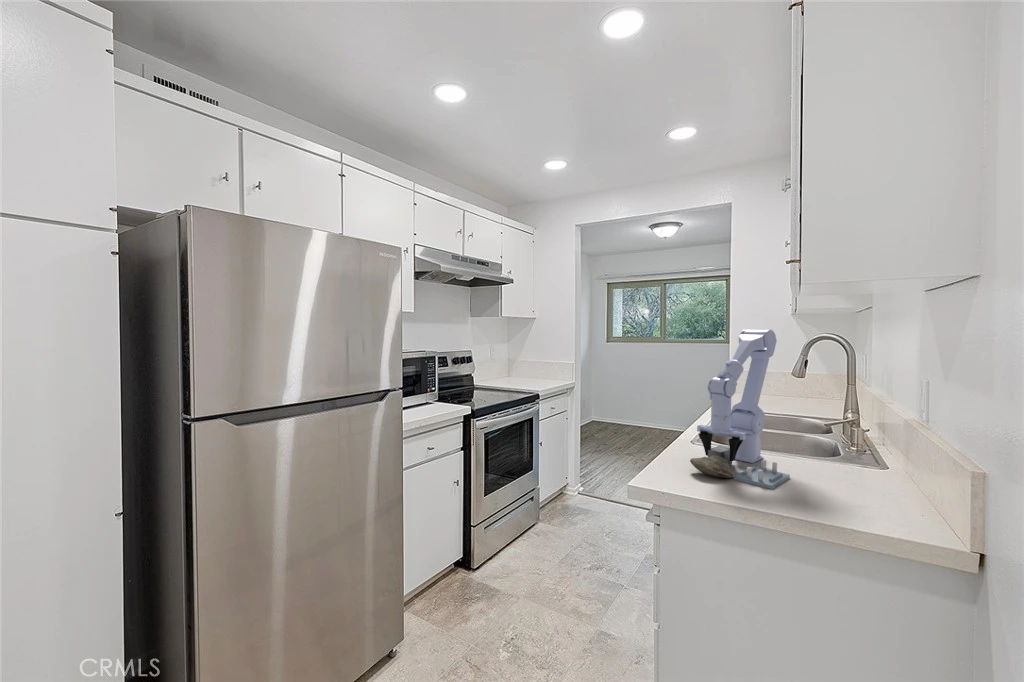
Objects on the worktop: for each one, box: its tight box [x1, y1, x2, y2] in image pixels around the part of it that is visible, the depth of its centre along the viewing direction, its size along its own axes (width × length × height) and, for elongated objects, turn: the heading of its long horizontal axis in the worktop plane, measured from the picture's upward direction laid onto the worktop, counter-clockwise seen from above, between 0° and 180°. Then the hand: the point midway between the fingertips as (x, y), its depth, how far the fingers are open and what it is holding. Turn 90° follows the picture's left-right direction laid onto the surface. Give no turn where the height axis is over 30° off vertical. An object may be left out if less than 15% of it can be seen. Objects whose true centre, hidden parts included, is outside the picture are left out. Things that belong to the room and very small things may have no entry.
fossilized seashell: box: [690, 455, 734, 479], centre depth 132 cm, size 11×11×7 cm
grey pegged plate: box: [733, 459, 791, 490], centre depth 129 cm, size 14×10×4 cm
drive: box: [707, 445, 733, 467], centre depth 141 cm, size 8×4×6 cm, turn 131°
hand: (719, 457), depth 141 cm, fingers open, 7 cm apart
